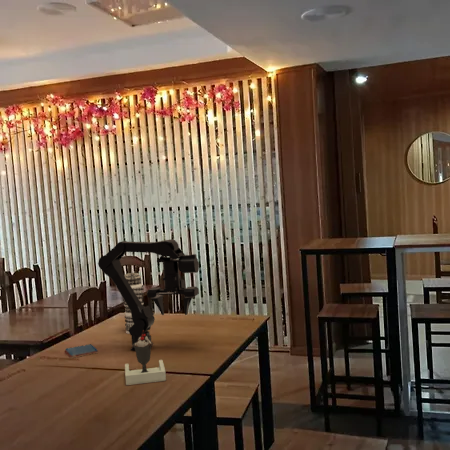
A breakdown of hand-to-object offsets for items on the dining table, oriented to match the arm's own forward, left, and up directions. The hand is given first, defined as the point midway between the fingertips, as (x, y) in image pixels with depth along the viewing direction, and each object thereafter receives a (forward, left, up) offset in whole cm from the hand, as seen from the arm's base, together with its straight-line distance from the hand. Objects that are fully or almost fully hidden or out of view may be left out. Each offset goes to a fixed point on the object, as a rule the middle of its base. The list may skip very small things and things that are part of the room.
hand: (174, 314), depth 213 cm
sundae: (-1, -31, -13) cm, 33 cm away
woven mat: (-36, -6, -14) cm, 39 cm away
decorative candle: (-26, +25, -13) cm, 39 cm away
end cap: (-1, -31, -13) cm, 33 cm away
